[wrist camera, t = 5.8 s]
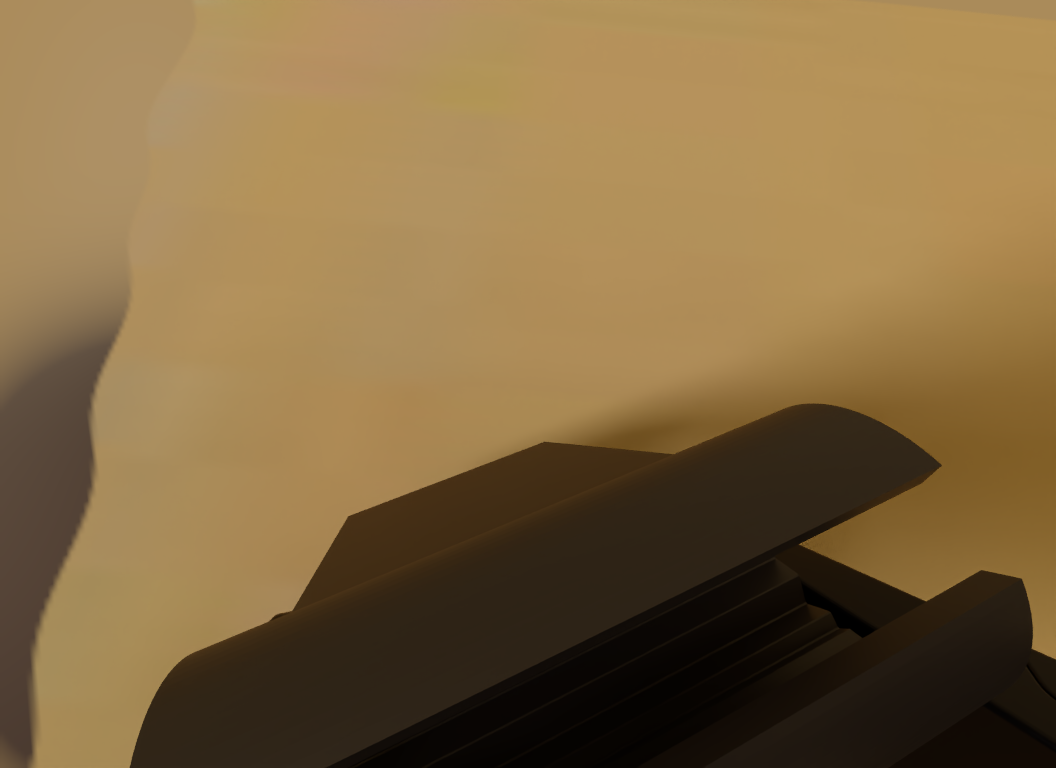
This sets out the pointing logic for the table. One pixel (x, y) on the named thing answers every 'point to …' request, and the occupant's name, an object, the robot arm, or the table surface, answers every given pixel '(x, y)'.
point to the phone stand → (602, 622)
